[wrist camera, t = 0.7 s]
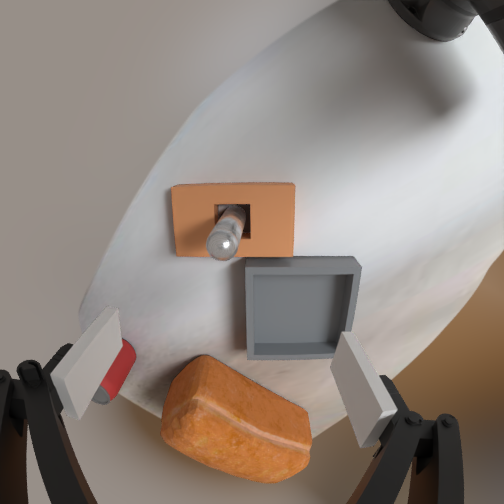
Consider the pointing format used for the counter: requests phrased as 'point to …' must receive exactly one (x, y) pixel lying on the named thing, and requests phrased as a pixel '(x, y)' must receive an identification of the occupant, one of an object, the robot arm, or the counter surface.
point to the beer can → (115, 375)
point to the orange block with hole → (254, 193)
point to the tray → (299, 305)
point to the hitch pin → (226, 234)
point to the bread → (234, 423)
